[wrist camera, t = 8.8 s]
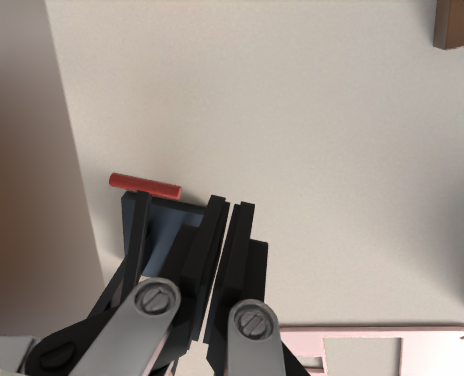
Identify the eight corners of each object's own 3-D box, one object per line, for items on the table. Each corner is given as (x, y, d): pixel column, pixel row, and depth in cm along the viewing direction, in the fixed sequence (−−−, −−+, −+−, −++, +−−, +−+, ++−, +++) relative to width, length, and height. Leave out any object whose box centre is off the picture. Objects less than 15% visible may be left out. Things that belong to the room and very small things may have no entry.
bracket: (126, 190, 35) (47, 284, 23) (211, 208, 35) (173, 313, 23) (130, 263, 42) (69, 366, 30) (202, 279, 41) (168, 390, 29)
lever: (119, 171, 27) (106, 173, 25) (184, 184, 27) (177, 188, 25) (97, 323, 29) (83, 339, 27) (157, 337, 29) (148, 354, 27)
